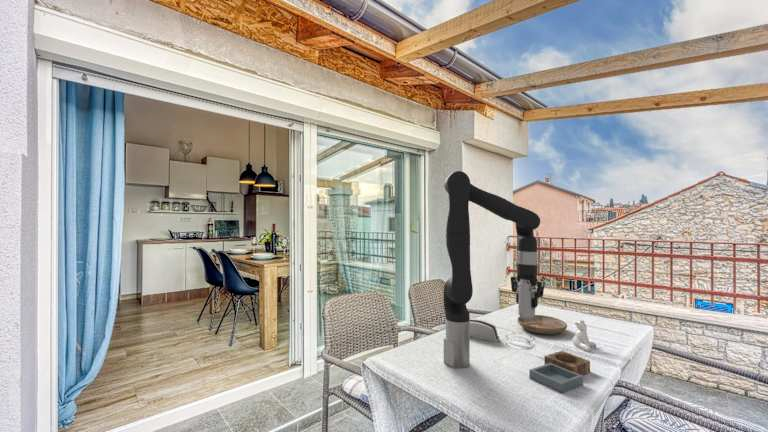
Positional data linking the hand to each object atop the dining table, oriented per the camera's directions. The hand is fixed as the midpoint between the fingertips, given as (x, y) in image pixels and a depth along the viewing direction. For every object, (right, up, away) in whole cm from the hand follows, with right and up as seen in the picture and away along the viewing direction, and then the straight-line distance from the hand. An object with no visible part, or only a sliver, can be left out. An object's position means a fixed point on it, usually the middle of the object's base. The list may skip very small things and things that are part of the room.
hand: (526, 305), depth 130 cm
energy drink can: (0, -5, 0) cm, 5 cm away
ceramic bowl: (+26, -24, +42) cm, 55 cm away
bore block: (+13, -23, -4) cm, 27 cm away
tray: (+4, -23, -14) cm, 27 cm away
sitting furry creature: (+33, -24, +18) cm, 45 cm away
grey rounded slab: (-10, -24, +30) cm, 39 cm away
